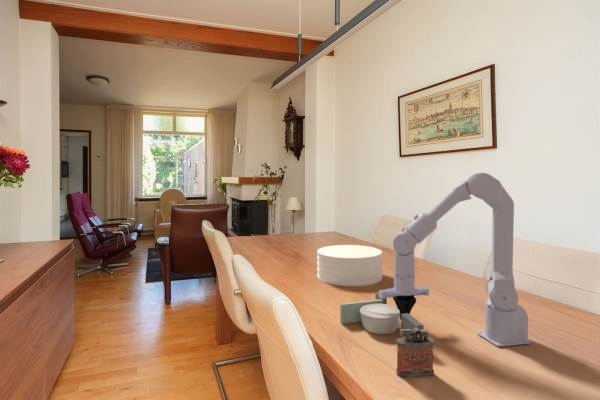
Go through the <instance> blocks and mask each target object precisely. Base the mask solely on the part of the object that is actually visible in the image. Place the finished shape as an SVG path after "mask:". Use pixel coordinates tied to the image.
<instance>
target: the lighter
mask: <svg viewBox="0 0 600 400" xmlns="http://www.w3.org/2000/svg"><path fill="white" fill-rule="evenodd" d="M399 336H400V337H399V338H396V340H395V341H396V354H397V355H396V361H397V362H396V368H395V370H396V371H395V372H396V376H398V377H400V378H403V377H404V378H405V377H406V378H408V379H423V378H424V379H425V378H431V377H433V376H434V375H435V374H434V373H435V369H434V345H435V339H433V338H431V337H429V330H428V329H427V328H426V329H425V328H424V329H418V328H417V327H415V328H413V330H411V329H401V328H400V329H399ZM423 336H424V337H423ZM401 337H404V338H401Z"/></svg>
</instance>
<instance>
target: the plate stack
mask: <svg viewBox="0 0 600 400" xmlns="http://www.w3.org/2000/svg"><path fill="white" fill-rule="evenodd" d="M316 255H317V256H316V258H317V259H316V260H317V262H316V265H317V268H316V272H317V274H316V276H317V277H316V278H317V279H318V280H319V281H321V282H323V283H326V284H329V285H335V286H345V287H364V286H370V285H375V284H378V283H380V282H382V280H383V250H381V249H379V248H378V247H377V248H376V247H373V246H368V245H357V244H340V245H339V244H337V245H335V244H334V245H328V246H323V247H320V248H318V249H317V251H316Z"/></svg>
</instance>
